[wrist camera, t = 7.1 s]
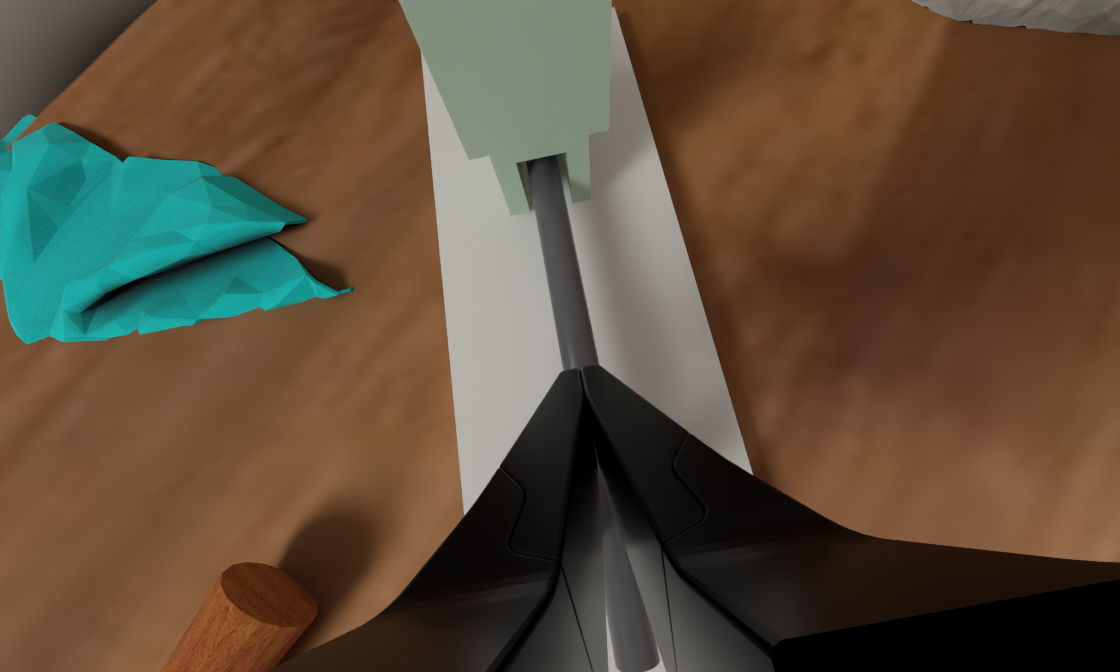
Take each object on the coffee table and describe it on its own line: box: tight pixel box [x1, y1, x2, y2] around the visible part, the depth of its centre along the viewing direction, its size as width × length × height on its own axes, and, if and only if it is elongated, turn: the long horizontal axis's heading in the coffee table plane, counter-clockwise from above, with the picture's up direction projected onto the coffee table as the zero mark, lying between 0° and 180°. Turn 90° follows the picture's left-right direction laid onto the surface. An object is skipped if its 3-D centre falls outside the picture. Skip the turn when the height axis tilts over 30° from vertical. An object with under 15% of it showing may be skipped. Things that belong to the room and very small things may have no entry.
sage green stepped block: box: [399, 0, 612, 216], centre depth 14 cm, size 4×5×10 cm
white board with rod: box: [421, 7, 753, 672], centre depth 15 cm, size 30×10×5 cm, turn 10°
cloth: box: [0, 114, 355, 344], centre depth 21 cm, size 26×14×2 cm, turn 55°
